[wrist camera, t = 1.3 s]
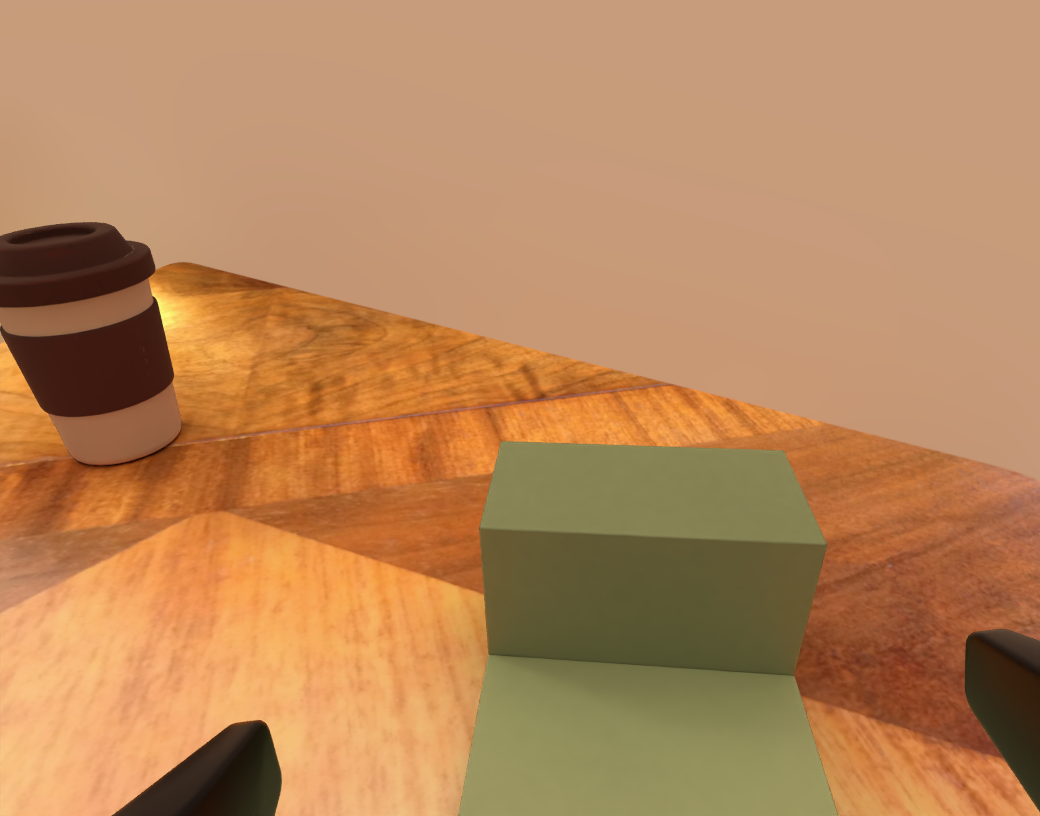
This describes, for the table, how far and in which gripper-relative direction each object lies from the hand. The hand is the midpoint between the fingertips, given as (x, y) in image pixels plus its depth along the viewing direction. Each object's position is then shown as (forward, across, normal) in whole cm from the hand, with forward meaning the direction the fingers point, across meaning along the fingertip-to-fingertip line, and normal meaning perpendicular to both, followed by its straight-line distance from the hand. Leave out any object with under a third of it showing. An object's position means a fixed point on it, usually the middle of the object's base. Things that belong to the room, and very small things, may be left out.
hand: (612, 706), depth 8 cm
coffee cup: (+38, +31, +4) cm, 49 cm away
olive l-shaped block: (+13, -1, +14) cm, 19 cm away
